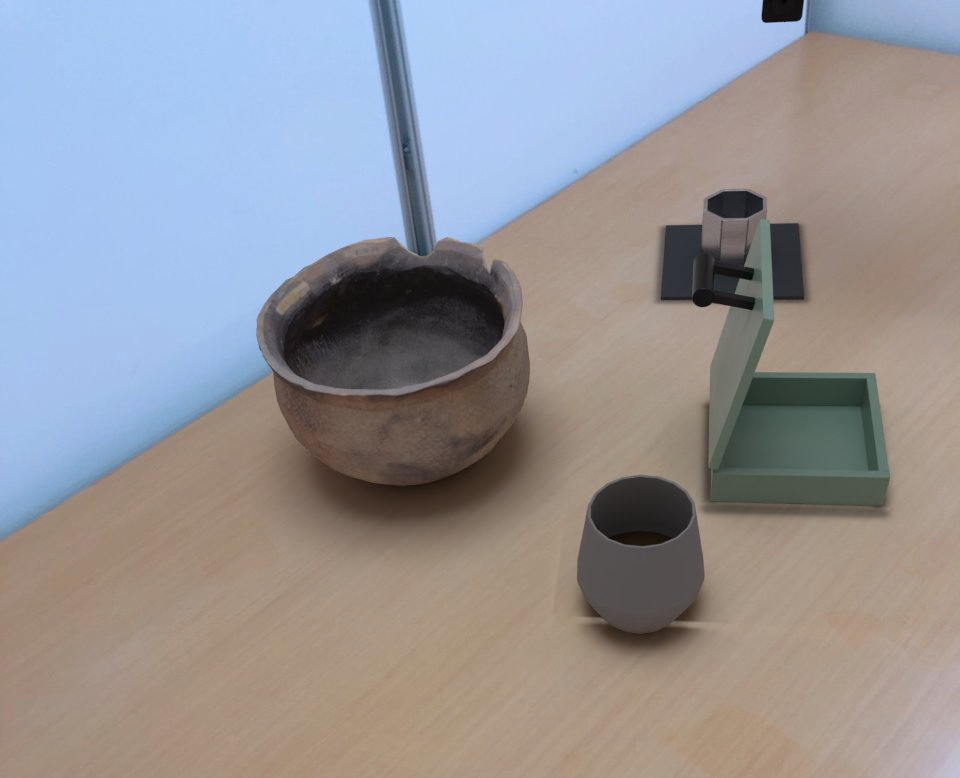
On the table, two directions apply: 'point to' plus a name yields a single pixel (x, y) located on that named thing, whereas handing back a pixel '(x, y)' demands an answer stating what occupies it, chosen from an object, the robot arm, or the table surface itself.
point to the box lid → (736, 332)
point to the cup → (640, 553)
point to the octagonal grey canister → (731, 224)
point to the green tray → (806, 442)
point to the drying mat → (679, 276)
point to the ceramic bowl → (398, 358)
